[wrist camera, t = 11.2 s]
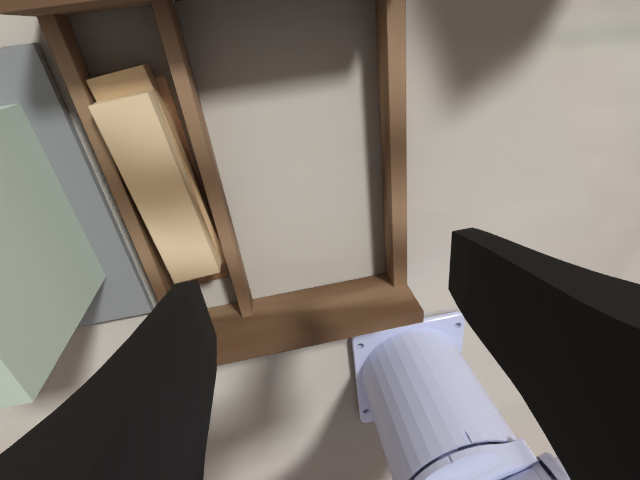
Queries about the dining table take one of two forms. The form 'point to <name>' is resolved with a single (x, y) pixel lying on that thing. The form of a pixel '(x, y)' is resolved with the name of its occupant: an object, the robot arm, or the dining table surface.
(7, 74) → the grey rubber mat
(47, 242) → the sage plywood sheet
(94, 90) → the middle offcut
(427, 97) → the dining table surface
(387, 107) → the walnut rack
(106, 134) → the top offcut
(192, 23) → the dining table surface
